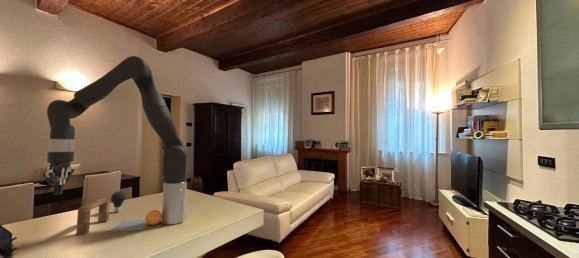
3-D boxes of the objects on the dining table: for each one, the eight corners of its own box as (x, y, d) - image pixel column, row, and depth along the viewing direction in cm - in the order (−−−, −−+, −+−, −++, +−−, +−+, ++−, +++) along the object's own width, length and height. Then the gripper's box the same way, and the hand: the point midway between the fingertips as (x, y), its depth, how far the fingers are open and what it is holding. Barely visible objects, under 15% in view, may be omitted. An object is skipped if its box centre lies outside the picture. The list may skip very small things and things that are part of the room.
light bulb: (116, 214, 108) (118, 193, 108) (107, 213, 109) (108, 192, 109) (127, 210, 113) (128, 190, 114) (118, 210, 114) (119, 189, 115)
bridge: (108, 220, 99) (110, 198, 100) (85, 234, 85) (87, 208, 85) (100, 221, 99) (102, 198, 99) (76, 235, 84) (78, 208, 84)
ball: (164, 220, 100) (162, 206, 100) (159, 225, 94) (158, 211, 94) (149, 223, 98) (147, 209, 98) (144, 228, 92) (142, 214, 93)
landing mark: (153, 219, 102) (153, 219, 102) (142, 230, 90) (142, 229, 90) (123, 221, 99) (123, 220, 99) (107, 231, 87) (107, 231, 87)
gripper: (59, 151, 85) (56, 198, 84) (83, 150, 98) (80, 190, 97) (35, 151, 83) (31, 198, 82) (63, 149, 96) (60, 191, 95)
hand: (58, 194), depth 90 cm, fingers closed
